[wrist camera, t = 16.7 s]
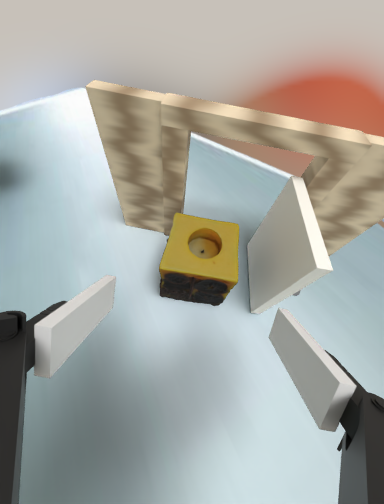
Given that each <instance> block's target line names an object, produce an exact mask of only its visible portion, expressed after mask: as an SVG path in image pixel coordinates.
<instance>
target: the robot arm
mask: <svg viewBox="0 0 384 504" xmlns="http://www.w3.org/2000/svg"><path fill="white" fill-rule="evenodd" d="M115 283H116V277H115V276H110V275H106V276H104V277H103V278H101V279H100V280H99V281H97V282H96V283H94V284H93V285H91V286H90V287H88V288H87V289H86V290H84V291H83V292H81V293H80V294H78V295H77V296H75V297H74V298H73V299H71V300H70V301H68V302H67V301H61V302H59V303H56V304H53V305H52V306H50V307H49V308H47V309H46V310H44V311H42V312H41V313H40V314H38V315H36V316H35V317H33V318H31V319H30V320H28V321H27V322H26V314H25V313H23V312H21V311H6V312H1V313H0V504H18V503H19V488H20V472H21V457H22V441H23V426H24V410H25V395H26V379H27V372H28V371H29V370H30V369H31V368H32V367H33V366H34V375H35V376H40V377H45V378H51V377H52V376H53V375H54V373H55V372H56V371H57V370H58V369H59V368H60V367H61V366H62V364H63V363H64V362H65V361H66V360H67V359H68V358H69V357H70V355H71V354H72V353H73V352H74V351H75V350H76V349H77V348H78V346H79V345H80V344H81V343H82V342H83V341H84V340H85V339H86V337H87V336H88V335H89V334H90V333H91V332H92V331H93V330H94V328H95V327H96V326H97V325H98V324H99V323H100V322H101V321H102V319H103V318H104V317H105V316H106V315H107V314H108V313H109V312H110V310H111V309H112V308H113V302H114V292H115ZM269 339H270V341H271V343H272V344H273V346H274V348H275V350H276V352H277V354H278V355H279V357H280V359H281V361H282V363H283V364H284V366H285V368H286V370H287V372H288V373H289V375H290V377H291V379H292V381H293V382H294V384H295V386H296V388H297V390H298V391H299V393H300V395H301V397H302V399H303V400H304V402H305V404H306V406H307V408H308V409H309V411H310V413H311V415H312V417H313V419H314V420H315V422H316V424H317V426H318V428H319V429H321V430H327V431H332V432H335V431H336V429H337V427H338V425H339V422H340V423H341V425H342V426H343V428H344V429H345V431H346V432H345V434H344V436H343V438H342V440H341V442H340V444H339V446H338V448H337V450H339V451H340V450H341V449H342V456H341V470H340V484H339V498H338V504H384V399H383V398H381V397H379V396H377V395H375V394H372V393H368V392H367V391H366V390H365V389H364V388H363V387H362V386H361V385H360V384H359V383H358V382H357V381H356V380H355V379H354V377H353V376H352V375H351V374H350V373H349V372H347V370H346V369H345V368H344V367H343V366H342V365H341V363H340V362H339V361H338V360H337V359H336V358H335V357H334V356H332V355H331V354H330V353H328V352H327V351H326V350H324V349H323V348H322V347H321V346H320V345H319V344H318V343H317V342H316V341H315V339H314V338H313V337H312V336H311V335H310V334H309V333H308V332H307V331H306V329H305V328H304V327H303V326H302V325H301V324H300V323H299V322H298V321H297V320H296V318H295V317H294V316H293V315H292V314H291V313H290V312H289V311H288V310H286V309H281V308H278V310H277V313H276V317H275V320H274V323H273V326H272V329H271V332H270V335H269Z"/></svg>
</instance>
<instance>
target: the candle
mask: <svg viewBox="0 0 384 504" xmlns="http://www.w3.org/2000/svg"><path fill="white" fill-rule="evenodd" d="M238 243H239V225H238V224H235V223H230V222H222V221H216V220H211V219H205V218H200V217H194V216H190V215H185V214H181V213H176V214H175V215H174V219H173V227H172V229H171V232H170V236H169V239H167V246H166V248H165V251H164V253H163V256H162V260H161V263H160V266H159V272H160V274H161V283H160V296H161V297H165V296H166V297H168V298H173V299H176V300H183V301H192V302H197V303H206V304H211V305H213V306H216V305H219V304H220V303H222V302H223V301H224V300H225V298H226V296H227V295H228V293H229V292H230V290H231V289H232V288H233V287H234V286H235V285H236V284H237V283H238Z"/></svg>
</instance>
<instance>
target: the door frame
mask: <svg viewBox="0 0 384 504" xmlns="http://www.w3.org/2000/svg"><path fill="white" fill-rule="evenodd" d="M86 90H87V93H88V97H89V100H90V104H91V107H92V110H93V114H94V117H95V121H96V124H97V127H98V131H99V134H100V138H101V141H102V144H103V148H104V151H105V155H106V158H107V161H108V165H109V168H110V172H111V175H112V178H113V182H114V185H115V188H116V192H117V195H118V199H119V202H120V205H121V209H122V212H123V216H124V219H125V222H126V225H128V226H133V227H138V228H144V229H149V230H154V231H159V232H164V234H165V235H169V236H170V232H171V229H172V227H173V219H174V215H175V214H176V213H181V214H183V210H184V199H185V189H186V178H187V168H188V157H189V146H190V136H191V131H193V132H198V133H204V134H209V135H214V136H219V137H224V138H229V139H234V140H240V141H244V142H250V143H254V144H259V145H264V146H269V147H274V148H280V149H284V150H290V151H295V152H300V153H305V154H310V155H315V157H314V159H313V160H312V161H311V163H310V164H309V166H308V167H307V169H306V170H305V172H304V173H303V174H302V176H301V178H303V180H304V183H305V186H306V189H307V192H308V195H309V199H310V202H311V205H312V208H313V211H314V214H315V217H316V220H317V223H318V226H319V229H320V232H321V235H322V238H323V241H324V244H325V247H326V250H327V253H328V256H330V255H332V254H333V253H334V252H336V251H337V250H339V249H340V248H342V247H343V246H344V245H346V244H347V243H349V242H350V241H352V240H353V239H354V238H356V237H357V236H359V235H360V234H362V233H363V232H364V231H366V230H367V229H369V228H370V227H372V226H373V225H375V224H376V223H377V222H379V221H380V220H382V219H383V218H384V137H379V136H374V135H369V134H364V133H363V131H358V130H352V129H348V128H343V127H338V126H333V125H328V124H323V123H317V122H313V121H308V120H303V119H298V118H293V117H288V116H283V115H277V114H273V113H267V112H262V111H258V110H253V109H247V108H242V107H237V106H232V105H227V104H222V103H217V102H212V101H207V100H202V99H196V98H192V97H187V96H182V95H177V94H172V93H167V94H162V93H157V92H152V91H147V90H142V89H137V88H132V87H127V86H122V85H117V84H112V83H107V82H102V81H97V80H93V81H92V82H91V83H89V84H88V85H87V86H86Z"/></svg>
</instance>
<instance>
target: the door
mask: <svg viewBox="0 0 384 504" xmlns="http://www.w3.org/2000/svg"><path fill="white" fill-rule="evenodd" d="M247 249H248V268H249V286H250V305H251V313H256V314H261V313H262V312H264V311H266V310H268V309H269V308H271V307H273V306H274V305H276V304H278V303H279V302H281V301H283V300H284V299H286V298H288V297H289V296H291V295H295V296H297V295H298V294H299V293H300V291H301V289H303V288H304V287H306V286H308V285H310V284H311V283H313V282H315V281H316V280H318V279H320V278H321V277H323V276H325V275H326V274H328V273H330V272H331V271H333V269H332V266H331V262H330V259H329V256H328V253H327V250H326V247H325V244H324V241H323V238H322V235H321V232H320V229H319V226H318V223H317V220H316V217H315V214H314V211H313V208H312V205H311V202H310V199H309V195H308V192H307V189H306V186H305V183H304V180H303V178H301V177H295V176H291V177H290V179H289V180H288V182H287V184H286V185H285V187H284V188H283V190H282V191H281V193H280V195H279V196H278V198H277V199H276V201H275V202H274V204H273V206H272V207H271V209H270V210H269V212H268V213H267V215H266V216H265V218H264V220H263V221H262V223H261V224H260V226H259V227H258V229H257V231H256V232H255V234H254V235H253V237H252V238H251V240H250V242H249V243H248V245H247Z"/></svg>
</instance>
